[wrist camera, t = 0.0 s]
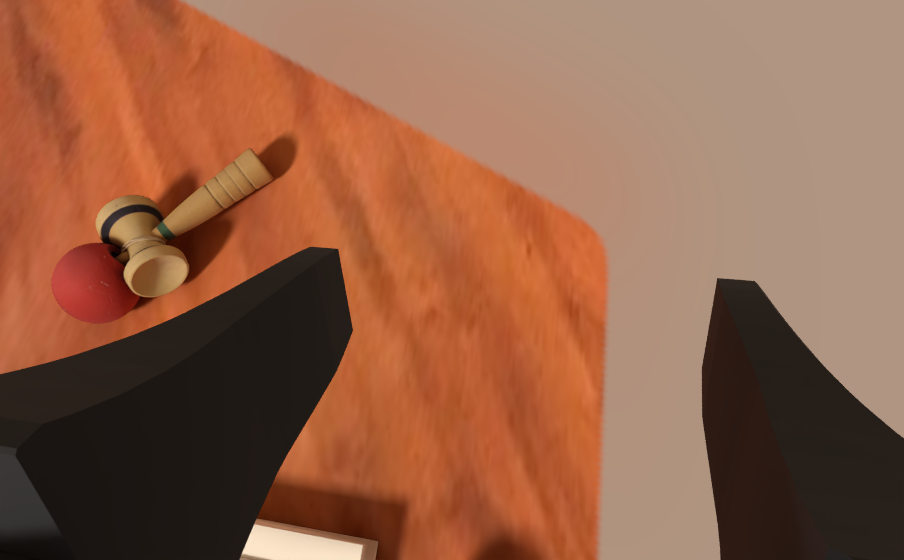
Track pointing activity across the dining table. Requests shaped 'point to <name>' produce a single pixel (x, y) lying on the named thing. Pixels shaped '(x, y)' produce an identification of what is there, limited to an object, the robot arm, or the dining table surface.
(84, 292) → the kendama
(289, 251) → the dining table surface
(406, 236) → the dining table surface
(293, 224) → the dining table surface
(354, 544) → the birch base
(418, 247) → the dining table surface
